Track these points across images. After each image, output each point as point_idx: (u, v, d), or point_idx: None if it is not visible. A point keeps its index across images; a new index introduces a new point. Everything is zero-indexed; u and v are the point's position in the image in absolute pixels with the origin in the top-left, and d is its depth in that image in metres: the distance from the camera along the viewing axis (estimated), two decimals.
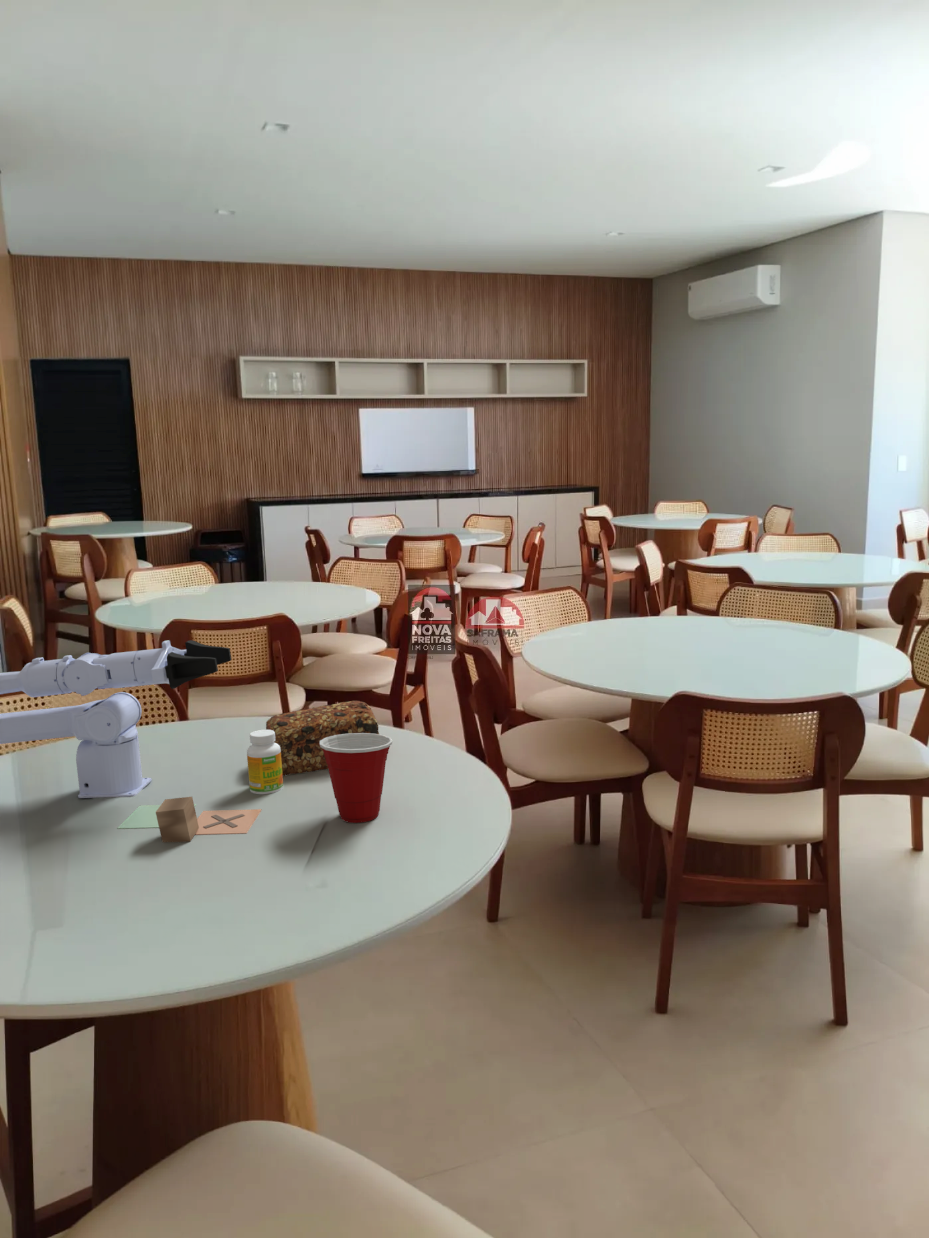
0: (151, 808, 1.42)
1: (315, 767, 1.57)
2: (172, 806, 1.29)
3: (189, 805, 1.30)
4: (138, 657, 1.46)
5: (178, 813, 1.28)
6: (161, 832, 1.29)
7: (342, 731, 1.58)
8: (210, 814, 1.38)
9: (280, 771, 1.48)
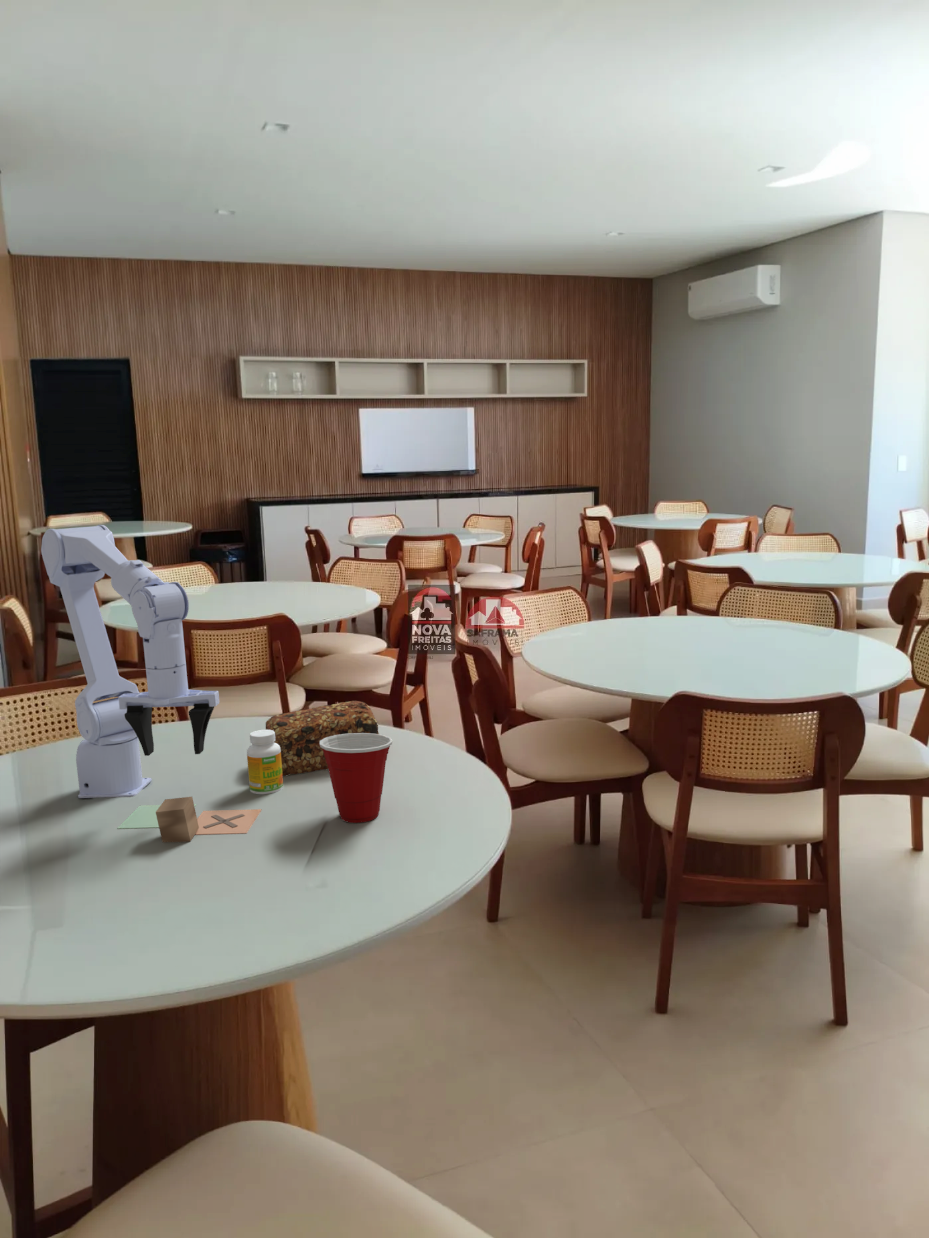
0: (151, 808, 1.42)
1: (315, 767, 1.57)
2: (172, 806, 1.29)
3: (189, 805, 1.30)
4: (149, 672, 1.34)
5: (178, 813, 1.28)
6: (161, 832, 1.29)
7: (342, 731, 1.58)
8: (210, 814, 1.38)
9: (280, 771, 1.48)
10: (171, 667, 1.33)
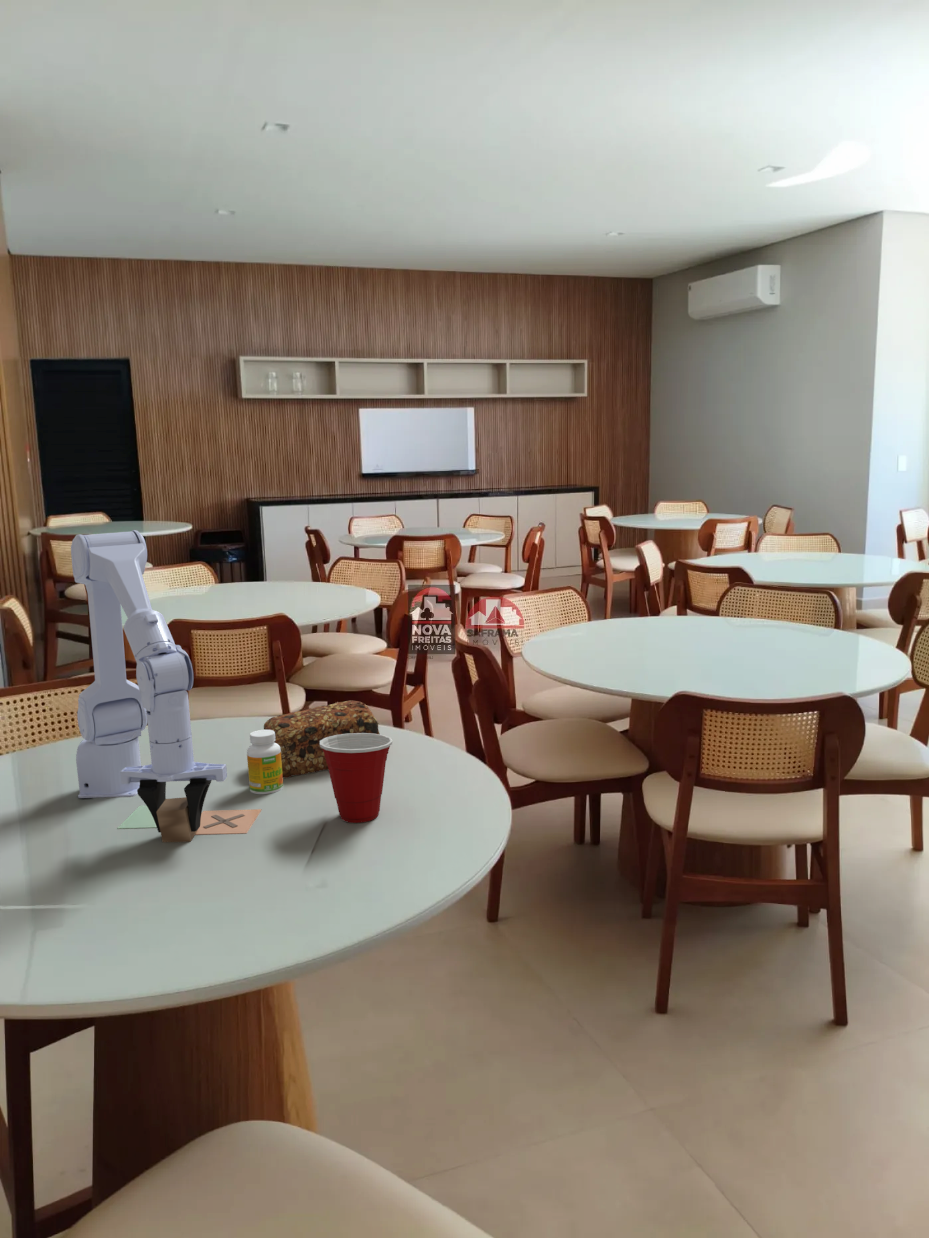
0: None
1: (318, 767, 1.57)
2: (173, 806, 1.29)
3: None
4: (153, 746, 1.26)
5: (179, 813, 1.28)
6: (161, 832, 1.29)
7: (344, 730, 1.58)
8: (210, 814, 1.38)
9: (280, 771, 1.48)
10: (176, 741, 1.26)
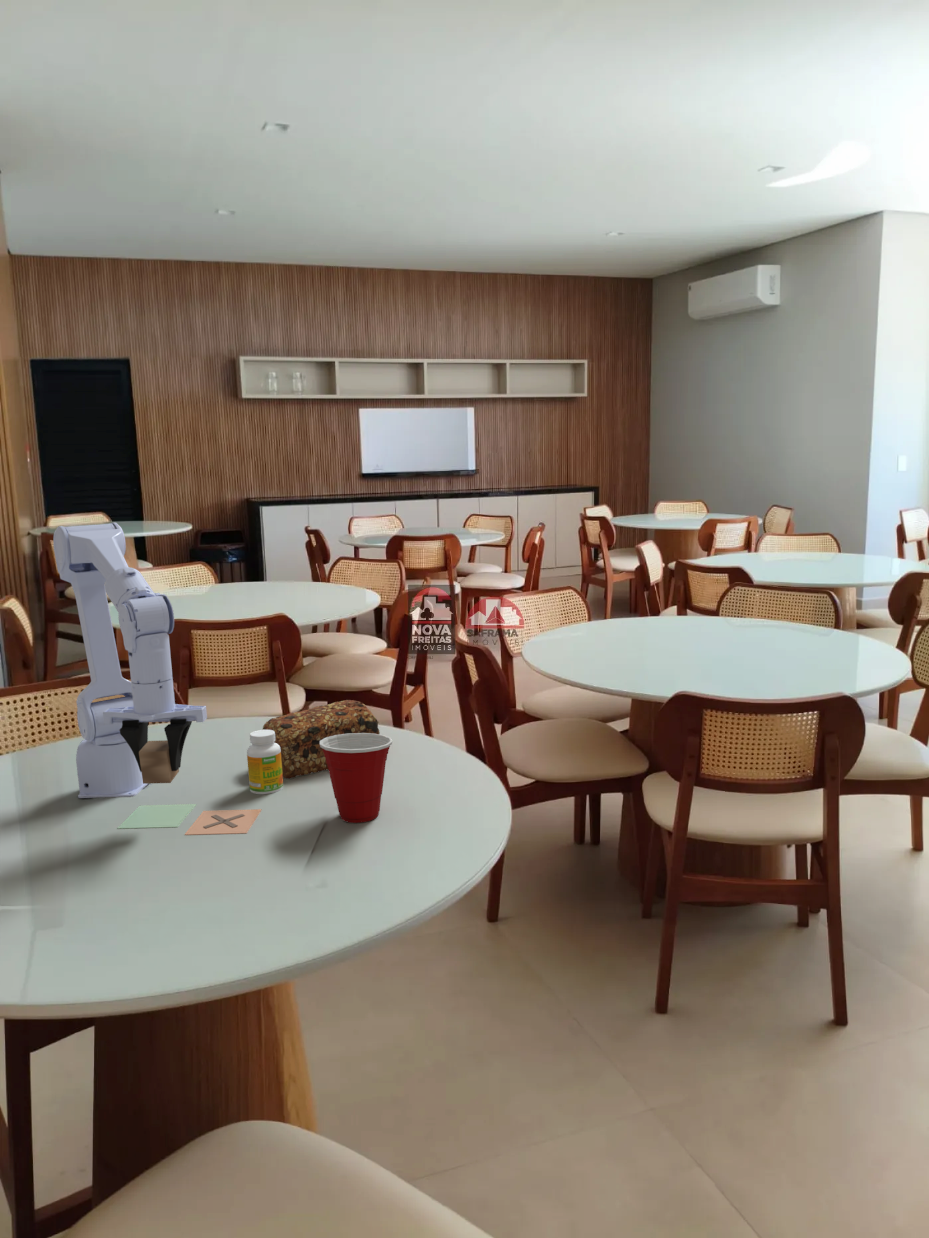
0: (151, 808, 1.42)
1: (320, 767, 1.57)
2: (155, 748, 1.32)
3: None
4: (134, 687, 1.30)
5: (160, 754, 1.31)
6: (142, 772, 1.32)
7: (345, 729, 1.59)
8: (210, 814, 1.38)
9: (280, 771, 1.48)
10: (157, 682, 1.30)
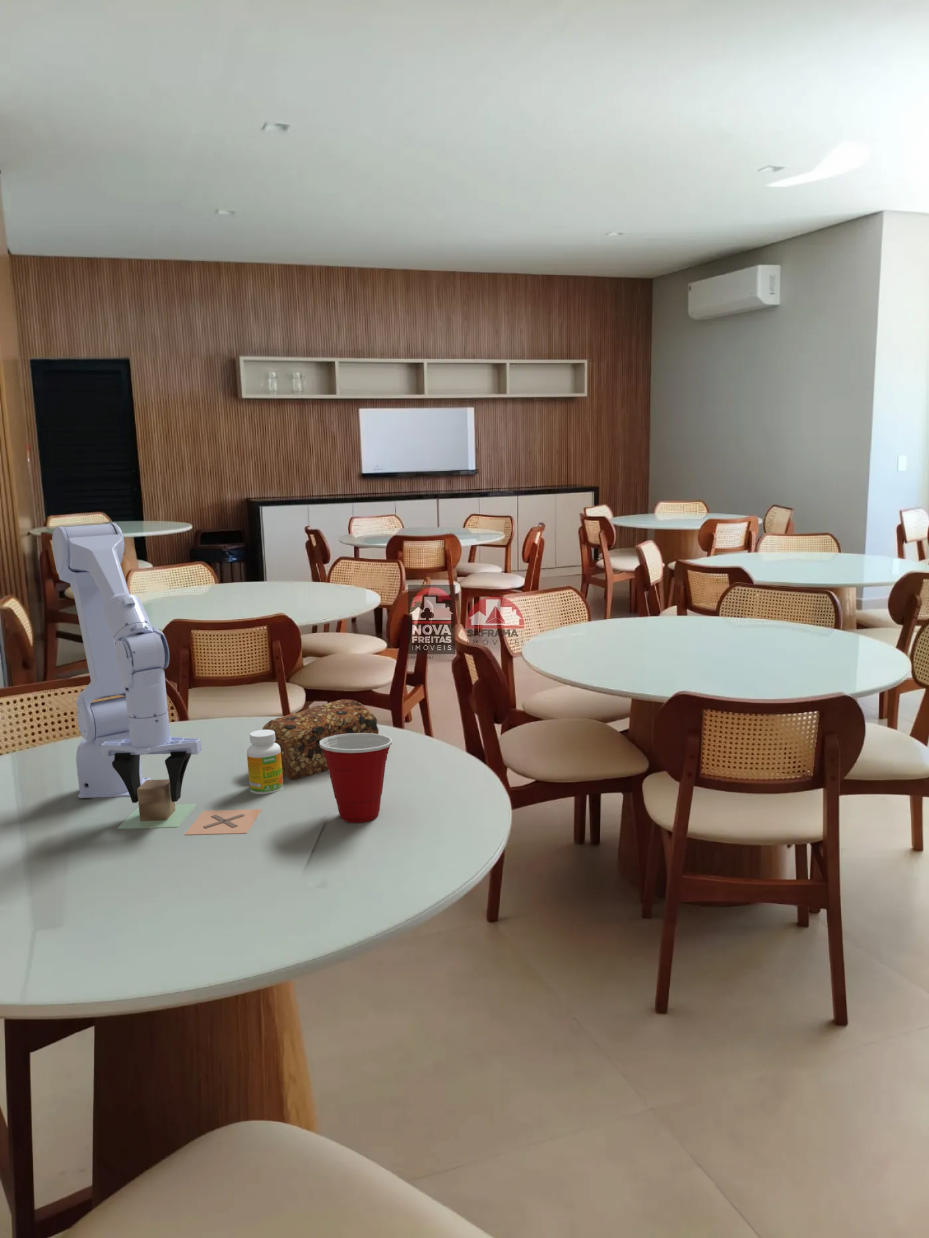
0: None
1: (324, 767, 1.57)
2: (153, 786, 1.37)
3: (169, 786, 1.38)
4: (131, 721, 1.34)
5: (158, 792, 1.36)
6: (140, 809, 1.37)
7: (347, 728, 1.59)
8: (210, 814, 1.38)
9: (280, 771, 1.48)
10: (153, 716, 1.34)
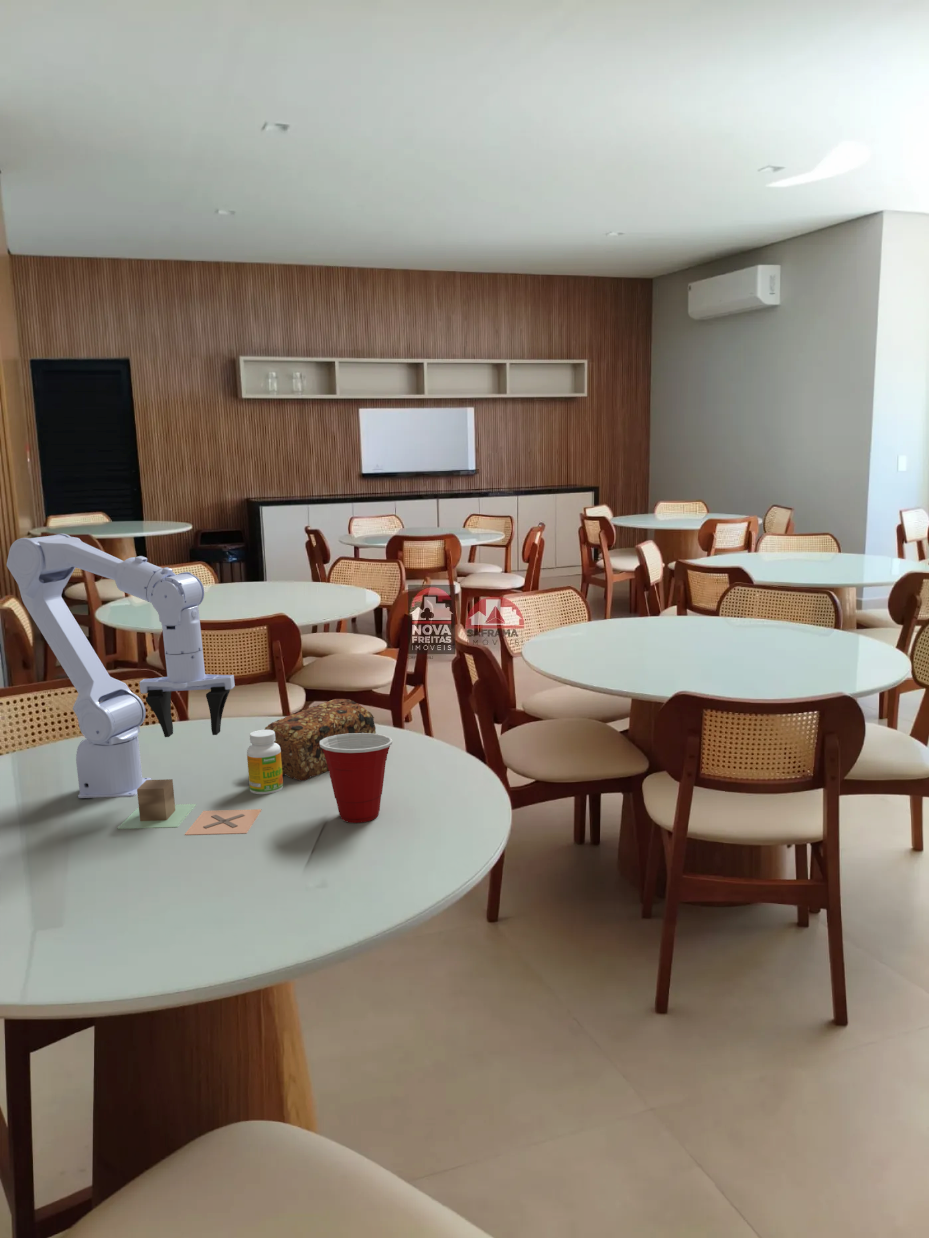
0: None
1: None
2: (153, 786, 1.37)
3: (169, 786, 1.38)
4: (168, 657, 1.42)
5: (158, 792, 1.36)
6: (140, 809, 1.37)
7: (349, 727, 1.60)
8: (210, 814, 1.38)
9: (280, 771, 1.48)
10: (189, 652, 1.41)
